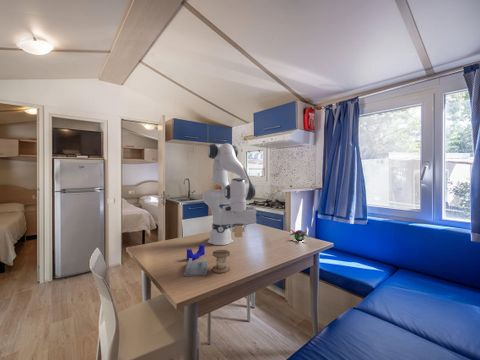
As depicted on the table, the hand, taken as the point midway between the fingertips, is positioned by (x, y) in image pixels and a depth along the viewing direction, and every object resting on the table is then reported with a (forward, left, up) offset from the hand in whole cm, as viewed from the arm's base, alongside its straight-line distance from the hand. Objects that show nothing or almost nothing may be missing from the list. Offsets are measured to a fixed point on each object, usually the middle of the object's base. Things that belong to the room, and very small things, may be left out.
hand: (238, 231), depth 127 cm
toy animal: (-37, +51, -18) cm, 65 cm away
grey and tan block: (0, 0, -3) cm, 3 cm away
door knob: (+7, -10, -18) cm, 22 cm away
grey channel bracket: (+5, -23, -18) cm, 29 cm away
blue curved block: (-13, -24, -18) cm, 33 cm away
